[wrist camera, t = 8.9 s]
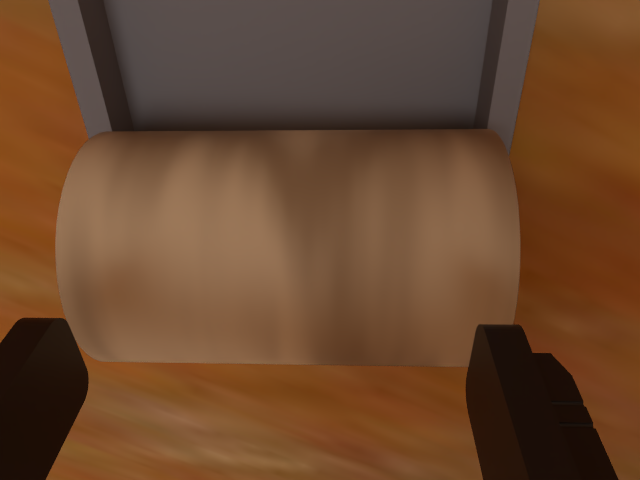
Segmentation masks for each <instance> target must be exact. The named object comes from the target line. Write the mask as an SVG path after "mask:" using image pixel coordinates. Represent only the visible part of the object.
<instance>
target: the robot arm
mask: <svg viewBox="0 0 640 480" xmlns="http://www.w3.org/2000/svg"><path fill="white" fill-rule="evenodd" d="M87 391H88V371H87V368H86V366H85V363H84V361H83V358H82V356H81V353H80V351H79V348H78V346H77V343H76V341H75V338H74V336H73V333H72V331H71V328H70V326H69V324H68V322H67V321H66V320H65V319H63V318H22V319H20V320H18V321H17V322H16V323H15V324H14V326H13V327H12V328H11V330H10V331H9V332H8V334H7V335H6V336H5V338H4V339H3V340H2V342H1V343H0V480H46V478H47V476H48V474H49V471H50V469H51V467H52V465H53V463H54V461H55V459H56V457H57V455H58V453H59V451H60V449H61V447H62V445H63V443H64V441H65V439H66V437H67V435H68V433H69V431H70V429H71V427H72V425H73V423H74V421H75V419H76V417H77V415H78V413H79V411H80V409H81V407H82V405H83V403H84V401H85V398H86V395H87ZM466 402H467V409H468V414H469V418H470V422H471V427H472V431H473V436H474V440H475V445H476V449H477V454H478V458H479V463H480V467H481V471H482V476H483V480H618V478H617V475H616V473H615V471H614V469H613V466H612V464H611V462H610V460H609V457H608V455H607V453H606V451H605V449H604V446H603V444H602V442H601V440H600V437H599V435H598V433H597V431H596V429H594V428H593V422H592V419H591V417H590V415H589V413H588V411H587V408H586V407H584V405H583V399H582V397H581V395H580V393H579V390H578V388H577V386H576V384H575V381H574V379H573V377H572V375H571V374H570V373H569V372H568V371H567V370H566V369H565V368H564V367H563V366H562V365H561V364H560V363H559V362H558V361H557V360H556V359H555V358H554V356H553V355H552V354H551V353H532V351H531V348H530V345H529V343H528V340H527V338H526V335H525V332H524V330H523V328H522V327H521V326H520V325H508V324H479V325H478V326H477V328H476V332H475V337H474V342H473V347H472V352H471V357H470V362H469V367H468V372H467V378H466Z"/></svg>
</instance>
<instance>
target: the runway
mask: <svg viewBox="0 0 640 480" xmlns="http://www.w3.org/2000/svg"><path fill="white" fill-rule="evenodd" d="M48 1H49V4H50V8H51V11H52V14H53V18H54V21H55V25H56V28H57V31H58V35H59V38H60V42H61V45H62V48H63V52H64V55H65V59H66V62H67V66H68V69H69V72H70V76H71V79H72V83H73V86H74V89H75V93H76V96H77V100H78V103H79V106H80V110H81V113H82V117H83V120H84V123H85V127H86V130H87V134H88V137H89V139H90V138H91V137H92V136H94V135H96V134H98V133H101V132H107V131H259V130H415V129H491V130H494V131H495V132H496V133H497V134H498V135H499V136H500V138H501V139H502V141H503V143H504V145H505V147H506V150H507V152H508V155H509V154H510V149H511V144H512V139H513V133H514V128H515V123H516V118H517V113H518V108H519V103H520V98H521V93H522V88H523V83H524V77H525V72H526V67H527V62H528V57H529V52H530V47H531V42H532V37H533V32H534V26H535V21H536V16H537V11H538V6H539V1H540V0H48Z"/></svg>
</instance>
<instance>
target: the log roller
mask: <svg viewBox="0 0 640 480" xmlns="http://www.w3.org/2000/svg"><path fill="white" fill-rule="evenodd" d="M56 270H57V281H58V287H59V294H60V298H61V302H62V307H63V311H64V314H65V317H66V320H67V322H68V324H69V326H70V328H71V331H72V333H73V336H74V338H75V339H76V341H77V342H78V344H79V346H80V347H81V348H82V349H83V350H84V351H85V352H86V353H87V354H88V355H89V356H91V357H92V358H93V359H96V360H99V361H105V362H166V363H232V364H298V365H365V366H431V367H469V362H470V357H471V352H472V347H473V342H474V337H475V332H476V328H477V326H478V325H479V324H508V325H513V322H514V318H515V312H516V305H517V298H518V288H519V275H520V221H519V208H518V199H517V191H516V185H515V180H514V174H513V170H512V166H511V162H510V158H509V155H508V152H507V150H506V147H505V145H504V143H503V141H502V139H501V138H500V136H499V135H498V134H497V133H496V132H495V131H494V130H491V129H415V130H259V131H107V132H101V133H98V134H96V135H94V136H92V137H91V138H90V139H89V140H88V141H87V142H86V143H85V144H84V145H83V146H82V148H81V149H80V150H79V152H78V153H77V155H76V157H75V158H74V160H73V162H72V165H71V167H70V169H69V172H68V174H67V177H66V180H65V183H64V187H63V190H62V195H61V199H60V204H59V210H58V217H57V227H56Z"/></svg>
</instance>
